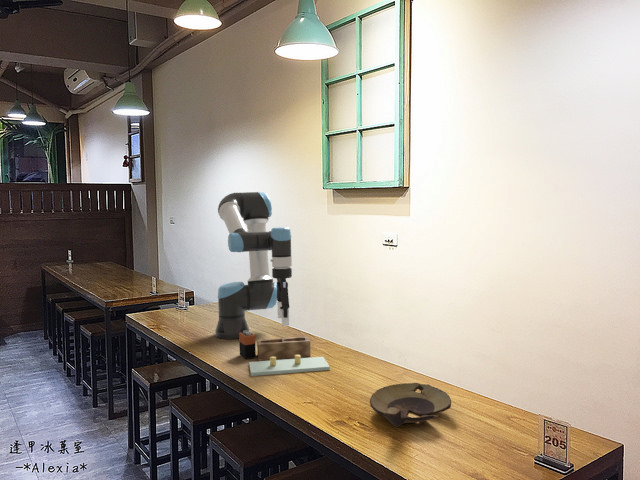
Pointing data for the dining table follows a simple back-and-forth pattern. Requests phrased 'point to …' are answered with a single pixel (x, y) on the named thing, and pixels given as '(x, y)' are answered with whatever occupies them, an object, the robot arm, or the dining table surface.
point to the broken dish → (409, 402)
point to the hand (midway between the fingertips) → (283, 321)
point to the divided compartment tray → (283, 347)
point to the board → (288, 365)
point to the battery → (247, 344)
